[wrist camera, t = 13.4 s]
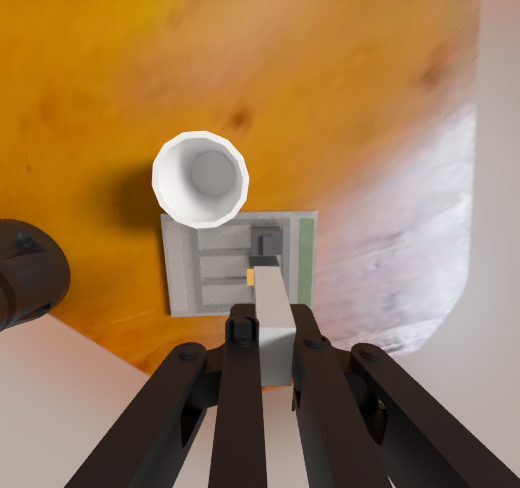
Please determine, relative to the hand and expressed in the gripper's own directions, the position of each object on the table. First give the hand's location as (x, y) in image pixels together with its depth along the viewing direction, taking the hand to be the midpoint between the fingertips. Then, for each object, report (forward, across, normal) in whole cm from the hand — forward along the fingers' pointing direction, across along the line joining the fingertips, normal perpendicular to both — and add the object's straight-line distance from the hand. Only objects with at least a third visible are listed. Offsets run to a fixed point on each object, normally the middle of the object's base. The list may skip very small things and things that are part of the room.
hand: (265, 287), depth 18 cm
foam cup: (+27, -6, +5) cm, 28 cm away
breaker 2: (+25, +1, -8) cm, 26 cm away
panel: (+27, -2, -8) cm, 28 cm away
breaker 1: (+25, +1, -4) cm, 25 cm away
